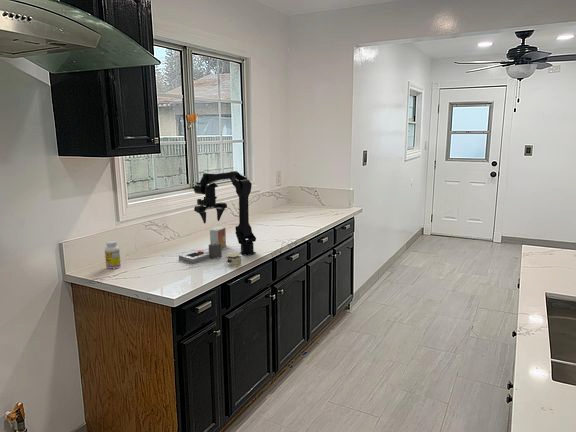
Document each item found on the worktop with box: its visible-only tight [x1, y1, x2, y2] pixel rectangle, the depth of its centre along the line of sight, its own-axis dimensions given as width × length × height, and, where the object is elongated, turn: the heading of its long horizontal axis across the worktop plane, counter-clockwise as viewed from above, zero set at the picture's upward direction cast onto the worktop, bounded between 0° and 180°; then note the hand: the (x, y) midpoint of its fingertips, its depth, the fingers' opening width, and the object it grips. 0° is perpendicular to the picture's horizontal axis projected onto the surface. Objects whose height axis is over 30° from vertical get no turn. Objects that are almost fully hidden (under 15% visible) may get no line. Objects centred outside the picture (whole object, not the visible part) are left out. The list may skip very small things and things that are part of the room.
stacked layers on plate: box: [225, 252, 243, 267], centre depth 217 cm, size 10×9×6 cm
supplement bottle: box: [104, 240, 122, 270], centre depth 213 cm, size 7×7×13 cm
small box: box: [209, 226, 227, 248], centre depth 249 cm, size 8×6×10 cm
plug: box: [208, 242, 222, 260], centre depth 229 cm, size 4×5×8 cm
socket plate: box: [178, 250, 211, 265], centre depth 226 cm, size 11×11×3 cm
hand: (211, 222), depth 248 cm, fingers open, 9 cm apart
